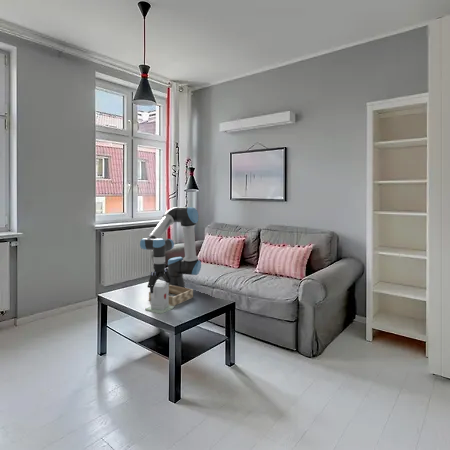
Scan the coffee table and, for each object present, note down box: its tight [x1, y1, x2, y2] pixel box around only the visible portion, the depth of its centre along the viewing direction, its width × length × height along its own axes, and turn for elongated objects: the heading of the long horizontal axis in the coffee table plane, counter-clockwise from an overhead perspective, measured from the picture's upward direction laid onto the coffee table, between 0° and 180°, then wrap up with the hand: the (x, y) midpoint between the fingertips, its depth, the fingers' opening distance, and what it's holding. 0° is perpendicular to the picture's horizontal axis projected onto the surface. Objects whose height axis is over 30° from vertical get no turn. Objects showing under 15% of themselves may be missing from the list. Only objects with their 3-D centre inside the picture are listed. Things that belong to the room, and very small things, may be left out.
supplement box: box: [150, 282, 170, 310], centre depth 224 cm, size 9×9×15 cm
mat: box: [145, 305, 175, 315], centre depth 225 cm, size 13×13×1 cm
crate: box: [148, 285, 194, 307], centre depth 245 cm, size 22×22×6 cm
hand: (159, 294), depth 224 cm, fingers open, 13 cm apart
